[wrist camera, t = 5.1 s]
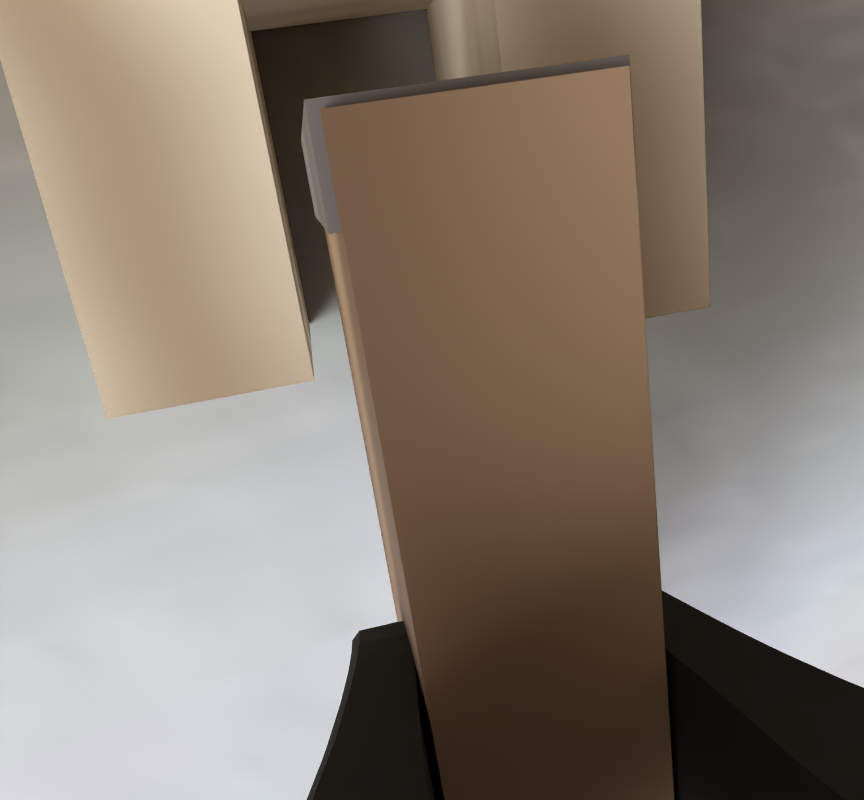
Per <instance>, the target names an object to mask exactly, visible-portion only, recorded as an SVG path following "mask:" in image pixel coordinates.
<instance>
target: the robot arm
mask: <svg viewBox="0 0 864 800" xmlns="http://www.w3.org/2000/svg"><path fill="white" fill-rule="evenodd" d="M661 591H662V590H661ZM662 607H663V624H664V640H665V656H666V673H667V689H668V705H669V721H670V738H671V754H672V770H673V787H674V800H864V688H863V687H860V686H858V685H855V684H853V683H850V682H848V681H845V680H843V679H841V678H838V677H836V676H834V675H832V674H829V673H827V672H825V671H823V670H820V669H818V668H816V667H814V666H811V665H809V664H807V663H805V662H802V661H800V660H798V659H796V658H793V657H791V656H789V655H787V654H785V653H783V652H781V651H778V650H776V649H774V648H772V647H770V646H768V645H766V644H764V643H762V642H760V641H758V640H756V639H754V638H752V637H750V636H748V635H746V634H744V633H742V632H740V631H738V630H736V629H734V628H732V627H730V626H728V625H726V624H724V623H722V622H720V621H718V620H716V619H714V618H712V617H710V616H709V615H707V614H705V613H703V612H701V611H699V610H697V609H695V608H693V607H692V606H690V605H688V604H686V603H684V602H682V601H680V600H679V599H677V598H675V597H673V596H671V595H669V594H667V593H666V592H664V591H662ZM307 800H440V798H439V793H438V787H437V782H436V776H435V771H434V765H433V760H432V754H431V749H430V743H429V738H428V732H427V727H426V721H425V716H424V710H423V705H422V699H421V694H420V688H419V683H418V677H417V672H416V666H415V661H414V657H413V653H412V650H411V646H410V643H409V639H408V636H407V632H406V629H405V626H404V622H403V621H400V622H395V623H391V624H387V625H382V626H378V627H374V628H370V629H365V630H361V631H359V632H358V634H357V635H356V636H355V638H354V639H353V641H352V654H351V660H350V666H349V671H348V676H347V680H346V684H345V688H344V692H343V696H342V700H341V704H340V707H339V710H338V713H337V716H336V720H335V723H334V726H333V729H332V732H331V736H330V739H329V742H328V745H327V748H326V751H325V754H324V757H323V759H322V762H321V765H320V767H319V770H318V772H317V775H316V777H315V780H314V782H313V785H312V788H311V790H310V793H309V795H308V798H307Z"/></svg>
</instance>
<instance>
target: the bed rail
mask: <svg viewBox="0 0 864 800" xmlns="http://www.w3.org/2000/svg"><path fill="white" fill-rule="evenodd" d="M301 144H302V149H303V154H304V160H305V165H306V170H307V175H308V181H309V186H310V191H311V197H312V202H313V207H314V212H315V217H316V218H317V219H318V221H319V222H320V223H321V225H322V226H323V227H324V229H325V234H326V239H327V245H328V250H329V255H330V261H331V266H332V271H333V277H334V282H335V288H336V293H337V298H338V304H339V309H340V314H341V320H342V325H343V331H344V336H345V341H346V347H347V352H348V357H349V363H350V368H351V373H352V379H353V384H354V390H355V395H356V400H357V406H358V411H359V416H360V422H361V427H362V432H363V438H364V443H365V449H366V454H367V459H368V465H369V470H370V475H371V481H372V486H373V492H374V497H375V502H376V508H377V513H378V518H379V524H380V529H381V534H382V540H383V545H384V551H385V556H386V561H387V567H388V572H389V577H390V583H391V588H392V593H393V599H394V604H395V610H396V615H397V620H398V622H400V621H403V622H404V626H405V629H406V632H407V636H408V639H409V643H410V646H411V650H412V653H413V657H414V661H415V666H416V672H417V677H418V683H419V688H420V694H421V699H422V705H423V710H424V716H425V721H426V727H427V732H428V738H429V743H430V749H431V754H432V760H433V765H434V771H435V776H436V782H437V787H438V793H439V798H440V800H674V787H673V770H672V754H671V738H670V721H669V705H668V689H667V673H666V656H665V640H664V624H663V607H662V591H661V575H660V558H659V542H658V526H657V510H656V493H655V477H654V461H653V444H652V428H651V412H650V396H649V379H648V363H647V347H646V330H645V314H644V298H643V281H642V265H641V249H640V233H639V216H638V200H637V170H636V154H635V138H634V121H633V105H632V89H631V72H630V56H629V55H622V56H615V57H608V58H601V59H593V60H586V61H579V62H572V63H564V64H557V65H550V66H543V67H535V68H528V69H521V70H514V71H507V72H499V73H492V74H485V75H478V76H470V77H463V78H456V79H449V80H441V81H434V82H427V83H420V84H412V85H405V86H398V87H391V88H383V89H376V90H369V91H362V92H355V93H347V94H340V95H333V96H326V97H318V98H311V99H304V107H303V120H302V134H301Z"/></svg>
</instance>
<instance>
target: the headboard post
mask: <svg viewBox="0 0 864 800" xmlns="http://www.w3.org/2000/svg"><path fill="white" fill-rule="evenodd" d="M424 9H427V14H428V22H429V29H430V37H431V45H432V52H433V60H434V67H435V75H436V81H441V80H449V79H456V78H463V77H470V76H478V75H485V74H492V73H499V72H507V71H514V70H521V69H528V68H535V67H543V66H550V65H557V64H564V63H572V62H579V61H586V60H593V59H601V58H608V57H615V56H622V55H629V56H630V72H631V89H632V105H633V121H634V138H635V154H636V170H637V200H638V216H639V233H640V249H641V265H642V281H643V298H644V314H645V318H650V317H655V316H661V315H666V314H671V313H677V312H682V311H688V310H693V309H698V308H704V307H709V306H710V279H709V247H708V215H707V182H706V150H705V118H704V85H703V53H702V20H701V0H0V63H2V67H3V70H4V73H5V77H6V80H7V83H8V87H9V90H10V94H11V97H12V100H13V104H14V107H15V110H16V114H17V117H18V121H19V124H20V127H21V131H22V134H23V137H24V141H25V144H26V147H27V151H28V154H29V158H30V161H31V164H32V168H33V171H34V174H35V178H36V181H37V184H38V188H39V191H40V195H41V198H42V201H43V205H44V208H45V211H46V215H47V218H48V222H49V225H50V228H51V232H52V235H53V238H54V242H55V245H56V248H57V252H58V255H59V259H60V262H61V265H62V269H63V272H64V275H65V279H66V282H67V286H68V289H69V292H70V296H71V299H72V302H73V306H74V309H75V312H76V316H77V319H78V323H79V326H80V329H81V333H82V336H83V339H84V343H85V346H86V349H87V353H88V356H89V360H90V363H91V366H92V370H93V373H94V376H95V380H96V383H97V387H98V390H99V393H100V397H101V400H102V403H103V407H104V410H105V413H106V417H107V419H109V418H115V417H120V416H125V415H131V414H136V413H141V412H147V411H152V410H158V409H163V408H168V407H174V406H179V405H184V404H190V403H195V402H200V401H206V400H211V399H216V398H222V397H227V396H232V395H238V394H243V393H249V392H254V391H259V390H265V389H270V388H275V387H281V386H286V385H291V384H297V383H302V382H307V381H313V380H314V372H313V361H312V350H311V338H310V327H309V321H308V316H307V311H306V306H305V301H304V296H303V291H302V286H301V281H300V276H299V271H298V266H297V261H296V256H295V251H294V246H293V241H292V236H291V231H290V226H289V221H288V216H287V211H286V206H285V201H284V196H283V191H282V186H281V181H280V176H279V171H278V166H277V161H276V156H275V151H274V146H273V141H272V136H271V131H270V126H269V121H268V116H267V111H266V106H265V101H264V96H263V91H262V86H261V81H260V76H259V71H258V66H257V61H256V56H255V51H254V46H253V41H252V36H251V31H256V30H264V29H272V28H280V27H288V26H296V25H304V24H312V23H320V22H328V21H336V20H344V19H352V18H360V17H368V16H376V15H384V14H392V13H400V12H408V11H416V10H424Z"/></svg>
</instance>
